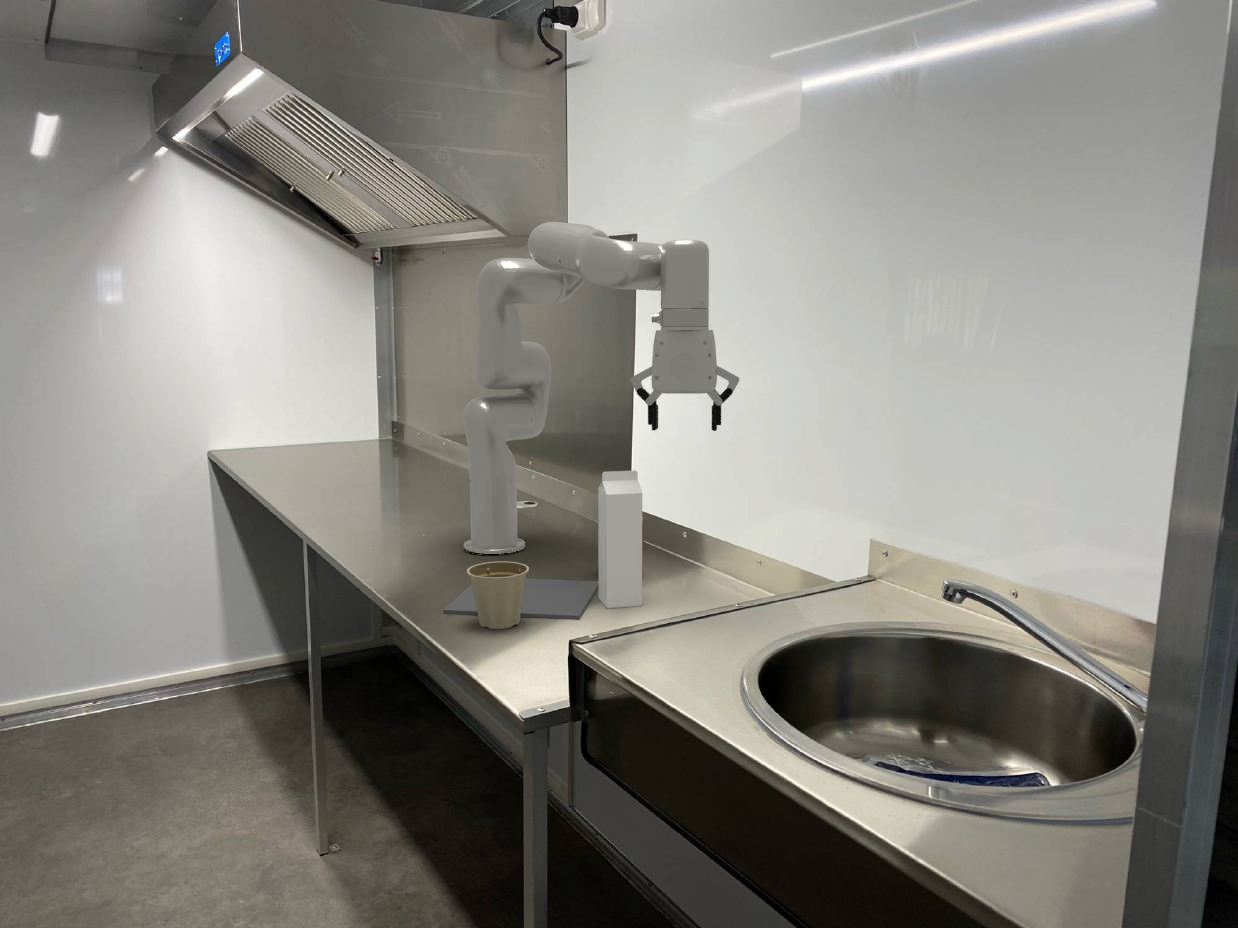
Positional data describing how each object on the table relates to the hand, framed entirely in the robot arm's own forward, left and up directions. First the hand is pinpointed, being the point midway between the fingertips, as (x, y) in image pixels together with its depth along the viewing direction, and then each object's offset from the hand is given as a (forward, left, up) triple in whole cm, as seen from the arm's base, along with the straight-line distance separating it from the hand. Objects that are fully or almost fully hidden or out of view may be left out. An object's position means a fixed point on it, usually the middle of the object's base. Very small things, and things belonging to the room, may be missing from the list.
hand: (684, 429), depth 148 cm
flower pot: (+14, -27, -29) cm, 42 cm away
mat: (0, -26, -29) cm, 39 cm away
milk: (0, -10, -29) cm, 31 cm away
